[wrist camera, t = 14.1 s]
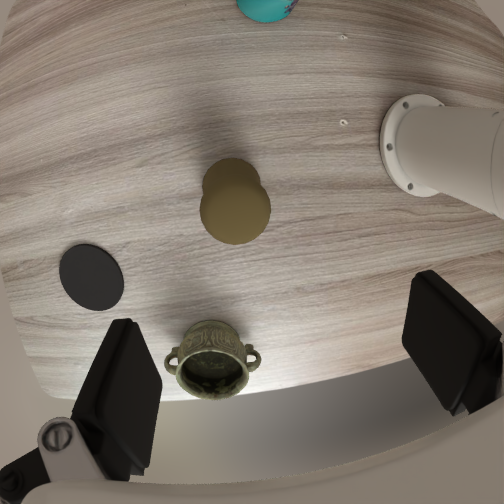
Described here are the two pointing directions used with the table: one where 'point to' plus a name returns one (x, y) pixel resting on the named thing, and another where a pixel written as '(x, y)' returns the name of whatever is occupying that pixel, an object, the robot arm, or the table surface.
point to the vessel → (212, 361)
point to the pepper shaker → (234, 202)
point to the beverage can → (266, 9)
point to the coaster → (91, 277)
